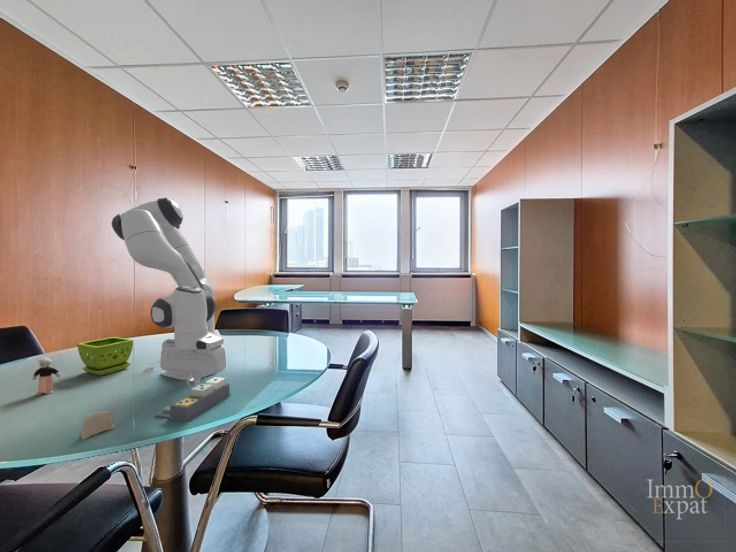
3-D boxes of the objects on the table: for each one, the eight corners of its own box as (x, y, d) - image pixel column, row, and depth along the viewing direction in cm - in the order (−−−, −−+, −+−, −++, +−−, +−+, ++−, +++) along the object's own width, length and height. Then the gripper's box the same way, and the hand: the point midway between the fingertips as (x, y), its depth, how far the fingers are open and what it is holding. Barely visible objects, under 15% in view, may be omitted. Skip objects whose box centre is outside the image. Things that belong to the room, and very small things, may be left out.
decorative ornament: (78, 435, 81) (77, 415, 81) (118, 421, 88) (117, 403, 88) (82, 440, 79) (81, 420, 79) (122, 426, 85) (121, 407, 85)
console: (155, 416, 91) (155, 403, 91) (201, 391, 108) (201, 380, 108) (188, 421, 88) (188, 407, 88) (230, 394, 105) (230, 383, 105)
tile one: (205, 392, 102) (205, 381, 101) (215, 386, 106) (214, 376, 106) (216, 393, 101) (216, 382, 100) (225, 388, 105) (225, 377, 105)
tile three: (175, 415, 90) (174, 403, 90) (187, 408, 94) (186, 397, 94) (187, 417, 89) (187, 405, 89) (199, 410, 93) (198, 398, 93)
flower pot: (97, 379, 120) (95, 347, 119) (77, 374, 125) (75, 343, 124) (135, 367, 133) (134, 338, 132) (115, 363, 138) (114, 335, 137)
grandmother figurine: (28, 397, 103) (26, 360, 103) (34, 393, 107) (32, 357, 106) (59, 393, 107) (57, 357, 106) (63, 388, 110) (62, 354, 110)
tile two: (191, 400, 96) (190, 388, 96) (201, 394, 100) (201, 383, 100) (202, 401, 95) (202, 390, 95) (213, 395, 99) (212, 384, 99)
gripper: (153, 341, 90) (155, 387, 91) (214, 344, 86) (216, 392, 87) (170, 336, 96) (172, 378, 97) (228, 338, 93) (230, 383, 93)
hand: (193, 385), depth 92 cm, fingers closed
